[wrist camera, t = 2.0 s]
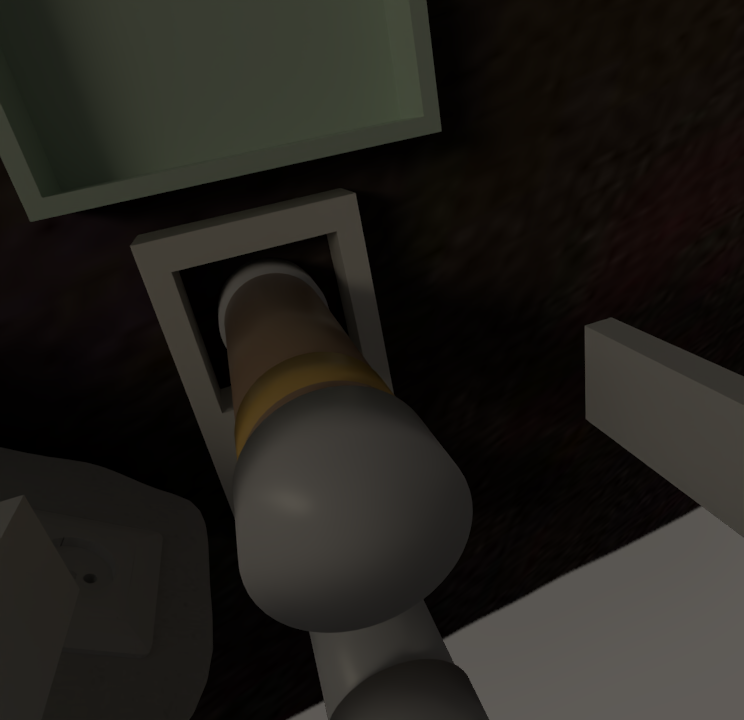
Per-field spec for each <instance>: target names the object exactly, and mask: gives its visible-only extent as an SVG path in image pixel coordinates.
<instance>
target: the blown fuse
mask: <svg viewBox="0 0 744 720" xmlns="http://www.w3.org/2000/svg"><path fill="white" fill-rule="evenodd" d="M218 320H219V330H220V334H221V338H222V340H223V343H224V345H225V346H226V348H227V354H228V363H229V372H230V381H231V390H232V399H233V408H234V417H235V429H234V436H235V446H236V455H237V463H236V466H235V471H234V475H233V488H232V491H233V503H234V515H235V527H236V540H237V552H238V562H239V571H240V575H241V578H242V581H243V584H244V586H245V588H246V590H247V592H248V594H249V596H250V597H251V598H252V600H253V601H254V602H255V604H256V605H257V606H258V607H259V608H260V609H261V610H263V611H264V612H265V613H266V614H267V615H269V616H270V617H272V618H273V619H275V620H277V621H279V622H281V623H283V624H285V625H287V626H290V627H293V628H296V629H300V630H305V631H310V632H319V633H339V632H348V631H355V630H359V629H363V628H367V627H371V626H374V625H377V624H380V623H382V622H385V621H387V620H389V619H392V618H394V617H396V616H398V615H400V614H401V613H403V612H405V611H407V610H409V609H410V608H412V607H413V606H415V605H416V604H418V603H419V602H420V601H422V600H423V599H424V598H425V597H427V596H428V595H429V594H430V593H431V592H433V591H434V590H435V589H436V588H437V587H438V586H439V585H440V584H441V583H442V582H443V580H444V579H445V578H446V577H447V575H448V574H449V573H450V572H451V570H452V569H453V567H454V566H455V564H456V563H457V561H458V560H459V558H460V556H461V554H462V552H463V550H464V548H465V545H466V543H467V540H468V537H469V533H470V529H471V525H472V515H473V509H472V498H471V494H470V489H469V487H468V484H467V482H466V479H465V477H464V476H463V474H462V472H461V471H460V469H459V468H458V466H457V465H456V464H455V462H454V461H453V460H452V458H451V457H450V456H449V455H448V453H447V452H446V451H445V449H444V448H443V447H442V446H441V444H440V443H439V442H438V440H437V439H436V438H435V437H434V435H433V434H432V433H431V431H430V430H429V429H428V428H427V426H426V425H425V424H424V422H423V421H422V420H421V419H420V417H419V416H418V415H417V414H416V413H415V412H414V410H413V409H412V408H411V407H409V406H408V405H407V404H406V403H405V402H403V401H402V400H400V399H398V398H397V397H395V395H394V394H393V393H392V391H391V390H390V389H389V387H388V386H387V385H386V383H385V382H384V381H383V379H382V378H381V377H380V376H379V375H378V373H377V372H376V371H374V370H373V369H372V368H371V366H370V365H369V364H368V362H367V361H366V359H365V358H364V357H363V355H362V354H361V353H360V351H359V350H358V349H357V347H356V346H355V345H354V343H353V342H352V340H351V339H350V338H349V336H348V335H347V334H346V332H345V331H344V330H343V328H342V327H341V325H340V324H339V323H338V321H337V320H336V319H335V317H334V316H333V315H332V313H331V312H330V311H329V307H328V304H327V301H326V299H325V296H324V295H323V293H322V291H321V290H320V289H319V287H318V286H317V285H316V283H315V282H314V281H313V280H312V278H311V277H310V276H309V275H308V273H307V272H305V271H304V270H303V269H302V268H301V267H299V266H298V265H296V264H294V263H292V262H290V261H287V260H284V259H280V258H271V257H270V258H260V259H255V260H252V261H249V262H247V263H245V264H243V265H242V266H240V267H239V268H237V269H236V270H235V271H234V272H232V274H231V275H230V276H229V277H228V278H227V280H226V281H225V283H224V284H223V286H222V288H221V291H220V294H219V299H218Z"/></svg>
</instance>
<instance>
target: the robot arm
mask: <svg viewBox="0 0 744 720" xmlns="http://www.w3.org/2000/svg"><path fill="white" fill-rule="evenodd" d="M585 397H586V420H588V421H589V422H590V423H592V424H593V425H594V426H596V427H597V428H598V429H600V430H601V431H602V432H604V433H605V434H606V435H608V436H609V437H610V438H612V439H613V440H614V441H616V442H617V443H618V444H620V445H621V446H622V447H624V448H625V449H626V450H628V451H629V452H630V453H632V454H633V455H634V456H636V457H637V458H638V459H640V460H641V461H642V462H644V463H645V464H646V465H648V466H649V467H650V468H652V469H653V470H654V471H656V472H657V473H658V474H660V475H661V476H662V477H664V478H665V479H666V480H668V481H669V482H670V483H672V484H673V485H674V486H676V487H677V488H678V489H680V490H681V491H682V492H684V493H685V494H686V495H688V496H689V497H690V498H692V499H693V500H694V501H696V502H697V503H698V504H700V505H701V506H702V507H704V508H705V509H706V510H708V511H709V512H710V513H712V514H713V515H714V516H716V517H717V518H718V519H720V520H721V521H722V522H724V523H725V524H726V525H728V526H729V527H730V528H732V529H733V530H734V531H736V532H737V533H738V534H740V535H741V536H743V537H744V377H743V376H741V375H739V374H737V373H734V372H732V371H730V370H728V369H726V368H723V367H721V366H719V365H717V364H714V363H712V362H710V361H708V360H705V359H703V358H701V357H699V356H696V355H694V354H692V353H690V352H688V351H685V350H683V349H681V348H679V347H676V346H674V345H672V344H670V343H667V342H665V341H663V340H661V339H658V338H656V337H654V336H652V335H650V334H647V333H645V332H643V331H641V330H638V329H636V328H634V327H632V326H629V325H627V324H625V323H623V322H620V321H618V320H616V319H614V318H612V317H611V318H608V319H605V320H601V321H598V322H595V323H592V324H588V325H585ZM79 590H80V589H79V587H78V585H77V584H76V582H75V580H74V578H73V577H72V575H71V573H70V572H69V570H68V568H67V567H66V565H65V563H64V562H63V560H62V558H61V556H60V555H59V553H58V551H57V550H56V548H55V546H54V545H53V543H52V541H51V540H50V538H49V536H48V535H47V533H46V531H45V529H44V528H43V526H42V524H41V523H40V521H39V519H38V518H37V516H36V514H35V513H34V511H33V509H32V508H31V506H30V504H29V502H28V501H27V499H26V497H25V496H24V495H21V496H18V497H15V498H11V499H8V500H5V501H1V502H0V720H41V719H42V716H43V712H44V709H45V706H46V702H47V699H48V695H49V692H50V689H51V685H52V682H53V678H54V675H55V672H56V668H57V665H58V661H59V658H60V655H61V651H62V648H63V644H64V641H65V638H66V634H67V631H68V627H69V624H70V621H71V617H72V614H73V610H74V607H75V604H76V600H77V597H78V593H79Z"/></svg>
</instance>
